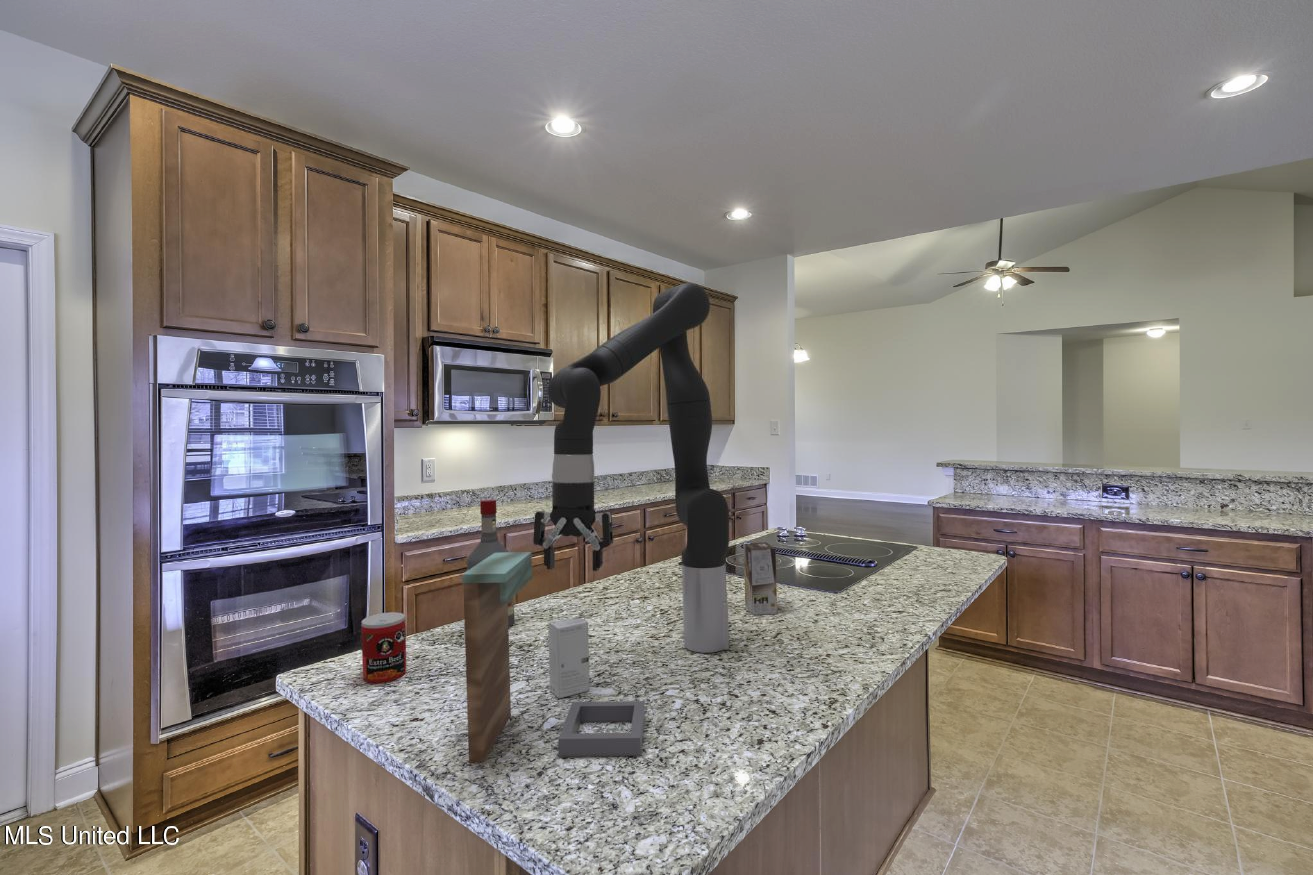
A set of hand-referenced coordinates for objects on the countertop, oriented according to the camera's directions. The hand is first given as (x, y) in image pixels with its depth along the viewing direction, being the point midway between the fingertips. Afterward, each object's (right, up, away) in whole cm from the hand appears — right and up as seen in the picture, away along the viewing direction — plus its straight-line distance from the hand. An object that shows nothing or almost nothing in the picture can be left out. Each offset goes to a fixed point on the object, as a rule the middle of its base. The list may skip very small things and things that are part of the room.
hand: (573, 569), depth 108 cm
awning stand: (-8, -21, -18) cm, 29 cm away
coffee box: (+41, -20, +42) cm, 62 cm away
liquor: (-24, -21, +34) cm, 47 cm away
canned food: (-37, -22, +7) cm, 43 cm away
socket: (+7, -21, -19) cm, 29 cm away
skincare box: (0, -21, -2) cm, 21 cm away
